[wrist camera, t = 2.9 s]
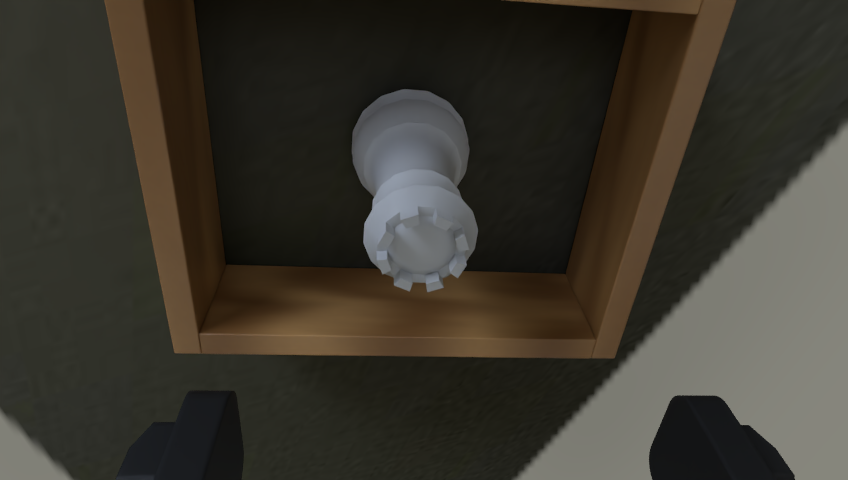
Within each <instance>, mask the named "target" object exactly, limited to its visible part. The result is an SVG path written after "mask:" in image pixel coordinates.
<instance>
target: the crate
mask: <svg viewBox="0 0 848 480" xmlns="http://www.w3.org/2000/svg"><path fill="white" fill-rule="evenodd" d="M503 1H517V2H530V3H544V4H557V5H570V6H584V7H597V8H611V9H624V10H633V11H632V15H631V19H630V22H629V26H628V30H627V34H626V38H625V42H624V46H623V50H622V54H621V58H620V62H619V66H618V70H617V74H616V77H615V81H614V85H613V89H612V93H611V97H610V101H609V105H608V109H607V113H606V117H605V121H604V125H603V129H602V133H601V136H600V140H599V144H598V148H597V152H596V156H595V160H594V164H593V168H592V172H591V176H590V180H589V184H588V188H587V191H586V195H585V199H584V203H583V207H582V211H581V215H580V219H579V223H578V227H577V231H576V235H575V239H574V243H573V246H572V250H571V254H570V258H569V262H568V266H567V270H566V274H556V273H519V272H481V271H462V273H461V274H460V276H459V277H458V278H457V277H455V276H454V275H452V274H450V275H449V276H447V277H445V278H442V279H443V285H444V288H441V289H437V290H434V291H430V292H427V287H426V283H418V282H413V284H412V287H411V290H410V292H409V291H407V290H404V289H402V288H399V287H397V286H394V277H391V276H389V275H386V274H383V275H382V272H381V270H380V269H370V268H333V267H295V266H258V265H226V262H225V253H224V245H223V237H222V229H221V221H220V213H219V205H218V196H217V188H216V180H215V172H214V164H213V156H212V147H211V139H210V131H209V123H208V115H207V107H206V99H205V90H204V82H203V74H202V66H201V58H200V50H199V41H198V33H197V25H196V17H195V9H194V1H193V0H105V5H106V10H107V15H108V20H109V25H110V30H111V36H112V41H113V46H114V51H115V56H116V61H117V66H118V71H119V76H120V81H121V86H122V91H123V96H124V101H125V106H126V111H127V116H128V121H129V126H130V131H131V136H132V141H133V146H134V151H135V156H136V161H137V166H138V171H139V177H140V182H141V187H142V192H143V197H144V202H145V207H146V212H147V217H148V222H149V227H150V232H151V237H152V242H153V247H154V252H155V257H156V262H157V267H158V272H159V277H160V282H161V287H162V292H163V297H164V302H165V307H166V312H167V318H168V323H169V328H170V333H171V338H172V343H173V348H174V353H183V354H201V353H203V354H257V355H340V356H424V357H508V358H607V359H613V358H615V356H616V353H617V350H618V347H619V344H620V341H621V338H622V335H623V332H624V329H625V326H626V323H627V320H628V317H629V315H630V312H631V309H632V306H633V303H634V300H635V297H636V294H637V291H638V288H639V285H640V282H641V279H642V276H643V274H644V271H645V268H646V265H647V262H648V259H649V256H650V253H651V250H652V247H653V244H654V241H655V238H656V235H657V232H658V230H659V227H660V224H661V221H662V218H663V215H664V212H665V209H666V206H667V203H668V200H669V197H670V194H671V191H672V189H673V186H674V183H675V180H676V177H677V174H678V171H679V168H680V165H681V162H682V159H683V156H684V153H685V150H686V147H687V145H688V142H689V139H690V136H691V133H692V130H693V127H694V124H695V121H696V118H697V115H698V112H699V109H700V106H701V104H702V101H703V98H704V95H705V92H706V89H707V86H708V83H709V80H710V77H711V74H712V71H713V68H714V65H715V62H716V60H717V57H718V54H719V51H720V48H721V45H722V42H723V39H724V36H725V33H726V30H727V27H728V24H729V21H730V19H731V16H732V13H733V10H734V7H735V4H736V1H737V0H503Z"/></svg>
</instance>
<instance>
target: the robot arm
mask: <svg viewBox="0 0 848 480" xmlns="http://www.w3.org/2000/svg"><path fill="white" fill-rule="evenodd" d="M243 458H244V451H243V441H242V433H241V426H240V418H239V411H238V404H237V397H236V393H235V392H234V391H189V392H188V393H187V395H186V397H185V399H184V402H183V404H182V407H181V409H180V412H179V415H178V417H177V420H176V422H154V423H153V424H152V425H151V426H150V427H149V428H148V429H147V430H146V431H145V432H144V433H143V434H142V435H141V436H140V437H139V438H138V440H137V441H136V442H135V443H134V444H133V445H132V446H131V447H130V448H129V450H128V452H127V455H126V457H125V459H124V461H123V463H122V466H121V468H120V470H119V472H118V475H117V477H116V480H241V478H242V471H243ZM649 465H650V472H651V476H652V479H653V480H795V479H794V474H793V473H792V471H791V470H790V468H789V467H788V465H787V464H786V463H785V461H784V460H783V458H782V457H781V456H780V454H779V453H778V451H777V450H776V448H774V447H773V446H772V445H771V444H770V443H769V442H767V441H766V440H765V439H764V438H763V437H762V436H760V434H758V433H757V432H756V431H755V430H753V428H751V427H750V426H749V425H740V423H739V422H738V420H737V419H736V418H735V416H734V415H733V413H732V411H731V410H730V408H729V407H728V405H727V404H726V403H725V401H723V400H722V399H721V398H720V397H717V396H675V397H673V398H672V400H671V401H670V403H669V406H668V408H667V410H666V413H665V415H664V417H663V420H662V422H661V424H660V427H659V429H658V432H657V434H656V437H655V439H654V441H653V443H652V446H651V449H650V455H649Z"/></svg>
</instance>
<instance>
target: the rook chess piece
mask: <svg viewBox="0 0 848 480" xmlns="http://www.w3.org/2000/svg"><path fill="white" fill-rule="evenodd" d="M469 150H470V149H469V145H468V137H467V133H466V129H465V126H464V122H463V119H462V118H461V116H460V115H459V114H458V113H457V112H456V110H455V109H454V108H453V107H452V105H451V104H450V103H449V102H448V101H446V100H444V99H442V98H440V97H438V96H436V95H434V94H432V93H431V92H429V91H421V90H409V89H402V90H399V91H396V92H393V93H389V94H386V95H383V96H380V97H379V98H378V99H377V100H376V101H374V102H373V103H372V104H371V105H370V106H368V107H367V108H366V109H365V110H364V111H363V112H362V114H361V116H360V118H359V120H358V122H357V124H356V126H355V128H354V130H353V134H352V155H353V165H354V167H355V170H356V172H357V175H358V177H359V180H360V182H361V184H362V185H363V186H364V187H365V188H366V189H367V190H368V191H369V192H370V193H371V194H372V195H373V196H374V199H373V205H372V211H371V213H370V214H369V216H368V218H367V220H366V222H365V223H364V240H363V243H364V246H365V248H366V251H367V253H368V255H369V258H370V260H371V261H372V262H373V263H374V264H375V265H376V266H377V267H378V268H379V269H380V270H381V272H382V275H383V274H386V275H389V276H391V277H394V286H397V287H399V288H402V289H404V290H407V291H409V292H410V290H411V287H412V284H413V282H418V283H426V287H427V292H430V291H434V290H437V289H441V288H444V285H443V279H442V278H445V277H447V276H449V275H450V274H452V275H454V276H455V277H457V278H458V277H459V276H460V274H461V273H462V271H463V270H464V268H465V267H466V266H467V264H466V261H467V260H468V258H469V257H470V255H471V254H472V252H473V251H474V249H475V245H476V239H477V234H478V228H477V224H476V221H475V217H474V214H473V211H472V210H471V209H470V208H469V206H468V205H467V204H466V203H465V202H464V201H463V200H462V198H461V195H460V192H459V190H458V189H457V186H458V185H459V183H460V181H461V180H462V178H463V177H464V175H465V173H466V170H467V163H468V157H469Z"/></svg>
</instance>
